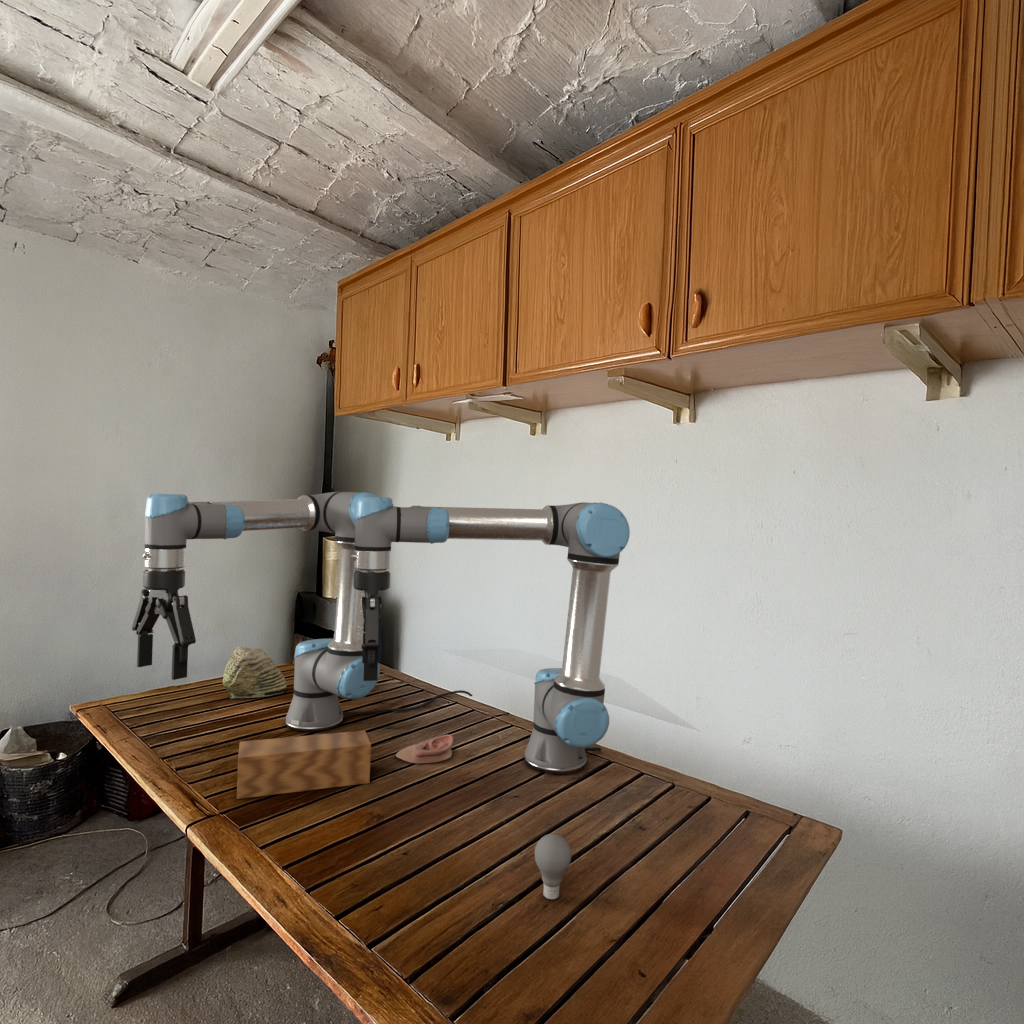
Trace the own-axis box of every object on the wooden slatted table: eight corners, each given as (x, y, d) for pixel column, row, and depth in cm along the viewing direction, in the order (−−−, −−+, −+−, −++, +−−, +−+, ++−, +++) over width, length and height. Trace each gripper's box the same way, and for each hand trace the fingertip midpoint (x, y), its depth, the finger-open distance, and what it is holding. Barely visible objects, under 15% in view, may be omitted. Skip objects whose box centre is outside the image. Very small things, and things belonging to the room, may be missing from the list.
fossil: (218, 695, 195) (220, 647, 195) (278, 685, 208) (279, 640, 207) (228, 703, 189) (230, 653, 188) (289, 692, 201) (290, 645, 201)
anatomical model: (391, 744, 153) (408, 727, 164) (390, 760, 153) (407, 743, 164) (443, 750, 150) (457, 733, 162) (443, 767, 150) (457, 749, 162)
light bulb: (530, 885, 106) (533, 826, 106) (566, 885, 106) (568, 826, 106) (534, 909, 100) (537, 846, 100) (572, 908, 100) (575, 846, 100)
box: (236, 799, 131) (238, 757, 131) (238, 780, 140) (239, 741, 139) (369, 783, 141) (371, 744, 141) (363, 766, 149) (365, 730, 149)
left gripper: (115, 564, 133) (112, 664, 134) (179, 576, 120) (175, 688, 120) (152, 562, 140) (149, 657, 140) (216, 573, 126) (213, 679, 126)
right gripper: (353, 563, 144) (351, 656, 144) (354, 577, 120) (351, 689, 120) (387, 563, 146) (384, 655, 146) (394, 577, 121) (391, 687, 122)
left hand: (161, 672), depth 130 cm, fingers open, 13 cm apart
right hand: (369, 671), depth 133 cm, fingers open, 13 cm apart
